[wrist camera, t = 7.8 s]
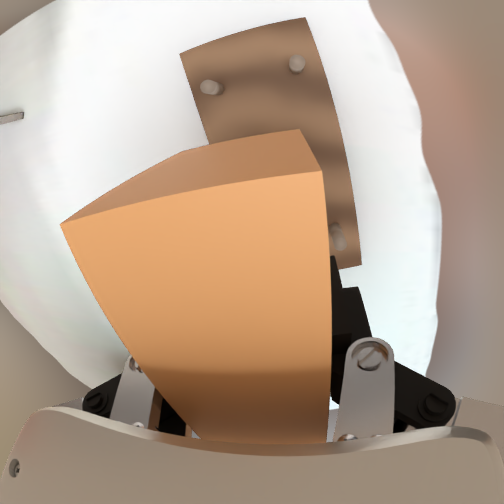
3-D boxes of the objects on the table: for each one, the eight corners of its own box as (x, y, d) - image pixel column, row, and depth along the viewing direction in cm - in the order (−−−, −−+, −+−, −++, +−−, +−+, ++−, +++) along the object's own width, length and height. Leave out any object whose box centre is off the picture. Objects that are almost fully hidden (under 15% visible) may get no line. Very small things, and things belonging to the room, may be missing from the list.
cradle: (359, 259, 29) (368, 283, 25) (258, 278, 32) (253, 304, 28) (304, 21, 18) (307, 4, 14) (183, 55, 21) (164, 47, 16)
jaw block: (299, 128, 8) (322, 171, 3) (321, 369, 14) (323, 470, 8) (182, 151, 9) (59, 224, 4) (250, 372, 14) (233, 469, 9)
